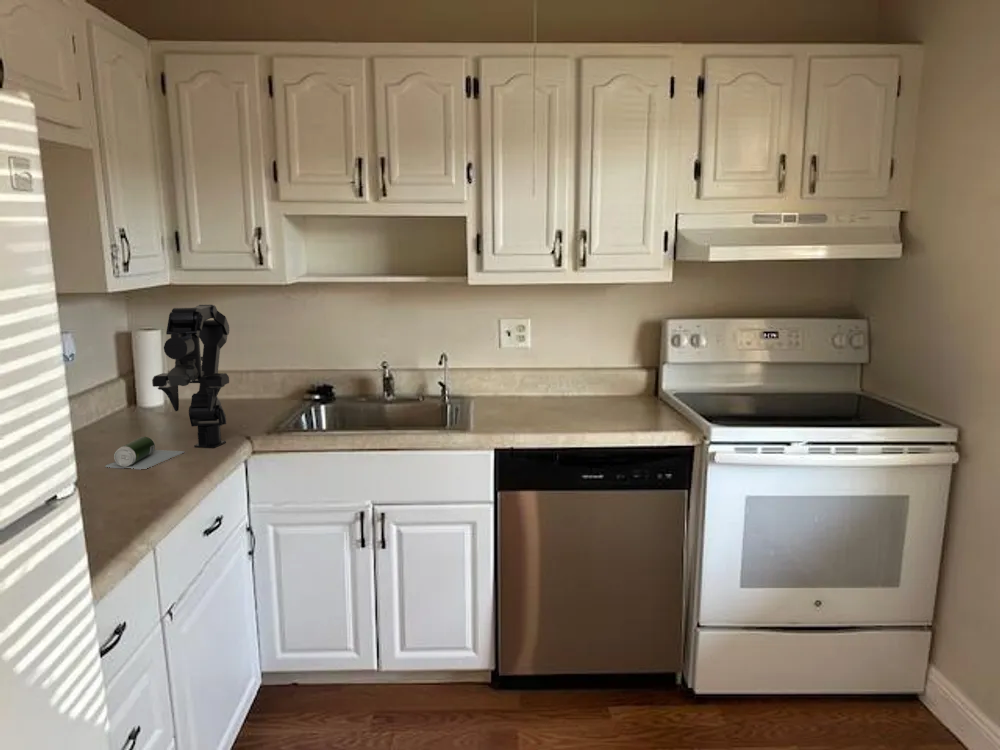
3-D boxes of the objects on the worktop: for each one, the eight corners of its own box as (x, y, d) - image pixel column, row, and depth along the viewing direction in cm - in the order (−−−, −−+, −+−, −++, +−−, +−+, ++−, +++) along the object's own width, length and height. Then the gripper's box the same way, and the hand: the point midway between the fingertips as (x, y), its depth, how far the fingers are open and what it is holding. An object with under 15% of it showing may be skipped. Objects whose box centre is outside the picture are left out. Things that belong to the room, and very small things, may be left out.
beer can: (156, 436, 192) (134, 448, 180) (155, 455, 193) (133, 468, 181) (136, 434, 191) (113, 446, 180) (136, 453, 192) (112, 466, 181)
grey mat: (147, 451, 198) (147, 449, 198) (184, 453, 196) (184, 451, 196) (105, 467, 182) (105, 465, 182) (146, 469, 180) (145, 467, 180)
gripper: (138, 358, 179) (144, 417, 182) (210, 358, 179) (214, 417, 181) (160, 352, 190) (165, 408, 193) (228, 352, 190) (231, 408, 192)
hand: (193, 411), depth 189 cm, fingers open, 9 cm apart
